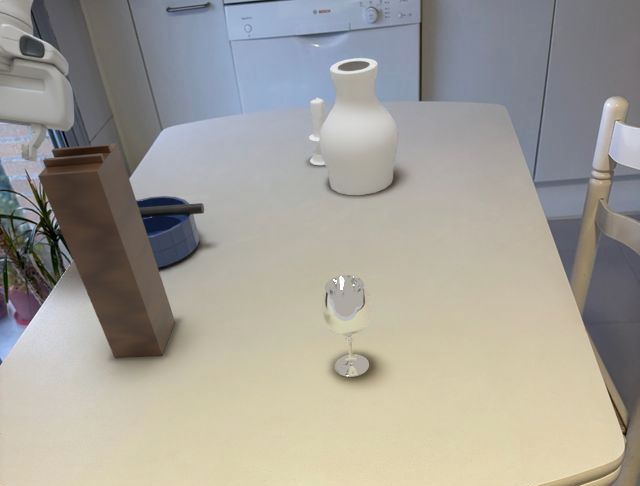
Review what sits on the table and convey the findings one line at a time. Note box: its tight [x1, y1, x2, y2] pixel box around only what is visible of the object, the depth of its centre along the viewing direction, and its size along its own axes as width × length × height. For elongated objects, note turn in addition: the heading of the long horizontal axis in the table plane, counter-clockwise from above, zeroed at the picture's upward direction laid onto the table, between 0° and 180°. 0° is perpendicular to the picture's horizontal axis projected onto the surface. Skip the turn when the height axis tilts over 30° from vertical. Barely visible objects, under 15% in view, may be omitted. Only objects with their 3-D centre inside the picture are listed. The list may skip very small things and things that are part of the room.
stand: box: [37, 142, 176, 358], centre depth 84 cm, size 7×8×27 cm
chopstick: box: [139, 202, 205, 218], centre depth 107 cm, size 20×2×2 cm, turn 86°
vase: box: [319, 57, 399, 196], centre depth 115 cm, size 14×14×20 cm
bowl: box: [136, 195, 201, 268], centre depth 110 cm, size 15×15×6 cm
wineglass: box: [321, 274, 372, 378], centre depth 79 cm, size 6×6×12 cm
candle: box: [308, 97, 327, 166], centre depth 127 cm, size 5×5×12 cm
